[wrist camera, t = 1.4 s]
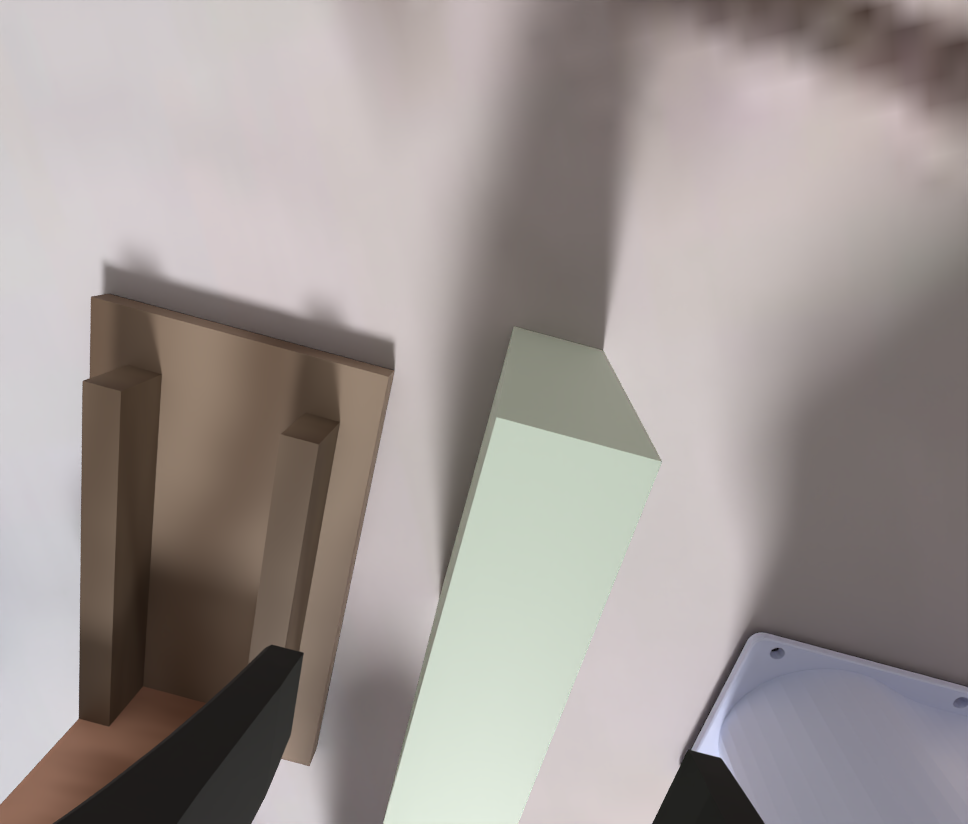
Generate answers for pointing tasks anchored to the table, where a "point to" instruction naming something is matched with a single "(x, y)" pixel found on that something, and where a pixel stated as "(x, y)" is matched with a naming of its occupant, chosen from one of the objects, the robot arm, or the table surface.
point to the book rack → (205, 531)
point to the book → (523, 582)
